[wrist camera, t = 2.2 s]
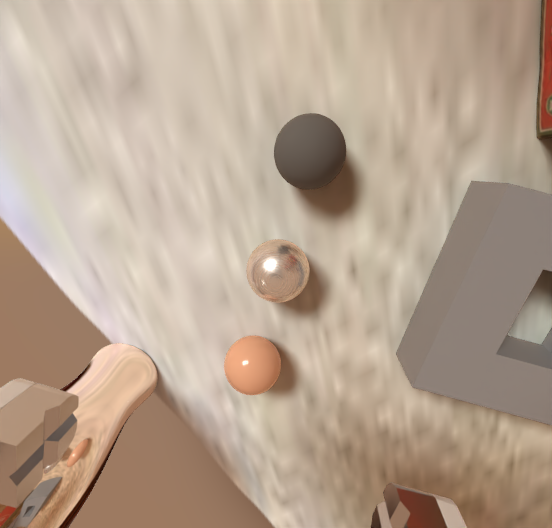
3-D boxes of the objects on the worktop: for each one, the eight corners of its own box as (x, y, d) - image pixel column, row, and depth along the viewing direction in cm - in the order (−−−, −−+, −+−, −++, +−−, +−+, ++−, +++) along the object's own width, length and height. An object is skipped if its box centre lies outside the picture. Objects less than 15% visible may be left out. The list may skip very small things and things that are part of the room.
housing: (471, 180, 21) (509, 183, 17) (676, 234, 20) (761, 249, 17) (395, 353, 25) (412, 387, 21) (564, 399, 25) (611, 441, 21)
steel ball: (259, 227, 23) (248, 239, 19) (316, 242, 23) (318, 258, 19) (246, 280, 24) (234, 303, 20) (300, 294, 24) (299, 320, 20)
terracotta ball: (237, 319, 25) (223, 349, 21) (288, 333, 25) (285, 366, 21) (227, 363, 27) (212, 399, 23) (275, 376, 27) (270, 415, 22)
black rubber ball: (286, 112, 20) (281, 97, 16) (350, 128, 20) (361, 118, 16) (270, 178, 22) (262, 180, 18) (330, 194, 22) (336, 200, 18)
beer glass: (109, 408, 29) (-75, 632, 15) (76, 346, 28) (-167, 535, 13) (174, 396, 28) (40, 626, 14) (144, 330, 27) (-44, 518, 12)
